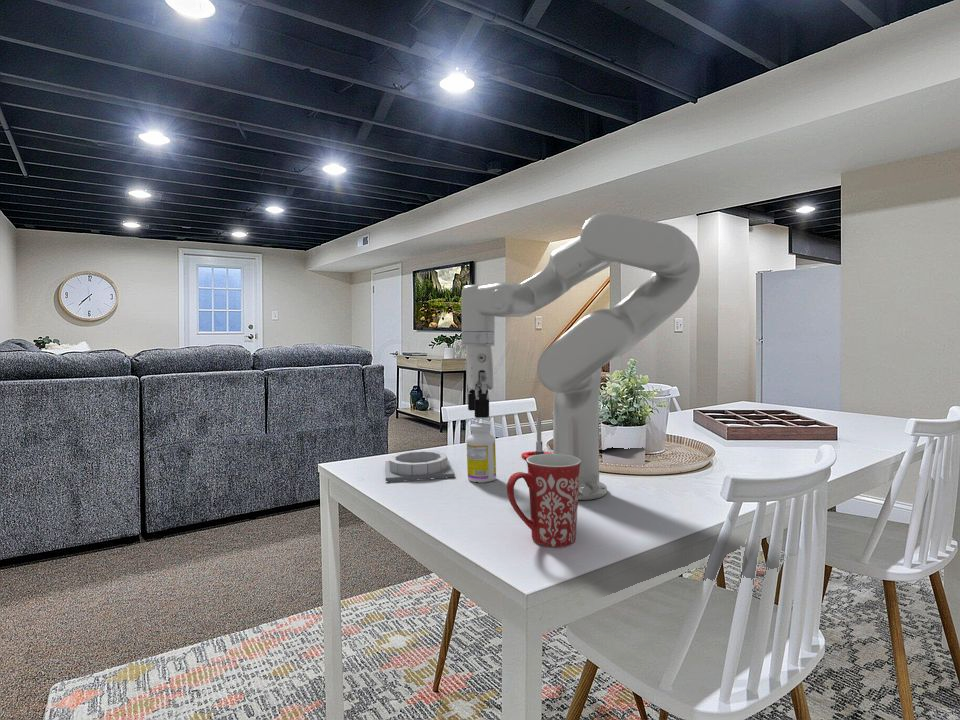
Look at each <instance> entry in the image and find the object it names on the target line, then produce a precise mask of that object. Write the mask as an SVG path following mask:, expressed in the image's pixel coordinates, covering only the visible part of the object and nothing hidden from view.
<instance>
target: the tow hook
mask: <svg viewBox="0 0 960 720" xmlns="http://www.w3.org/2000/svg"><path fill="white" fill-rule="evenodd" d="M536 414H537V417H536V418H537V419H536V441H535V451H532V450H531V451H525V452H522V453H521V456H520V457H521V458H522V459H524V460H526V459H527V458H528V457H530V456H533V455H539V454H553V452H549V451H544V450H543V440H542V419H541V411H537V413H536Z"/></svg>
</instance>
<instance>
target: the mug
mask: <svg viewBox="0 0 960 720" xmlns="http://www.w3.org/2000/svg"><path fill="white" fill-rule="evenodd" d="M525 461H526V466H527V472H523V471H521V472H520V471H518V472H515V473H513V474H511V476H509V478H508V479H507V480H508V481H507V482H506V483H507V484H506V494H507V497H508V501H509V503H510V505H511V507H512V509H513V510H514V512H515V513H516V514H517V516H518V517H519V518H520V520H521V521H523V523H524V524H525V525H526V526H527V527H528V529H530V530H531V539H532V541H533V542H534V541H535V542H534V543H535V544H538V545H540V544H541V546H543V547H544V546H545V547H549V546H551V548H561V547H562V546H563V547H567V545H568V546H571V545H573V544H574V543H575V541H576V537H577V523H578V507H579V505H578V504H579V502H578V501H579V500H578V488H579V470H580V464H581V460H580V459H579V458H577V457H574V456H571V455H565V454H553V453H552V454H539V455H530V457H528V458H527V459H525ZM520 479H523V480H524V481H525V483H526V485H527V488H528V493H529V494H528V495H529V496H528V497H529V511H530V519H529V518H528V517H527V516H526V515H525V513H524V512H523V511H522V510H521V508H520V507H519V505H518V503H517V501H516V498H515V493H514V492H515V491H514V489H515V484H516V482H517V481H518V480H520ZM572 543H573V544H572ZM570 544H571V545H570ZM563 547H562V548H563Z"/></svg>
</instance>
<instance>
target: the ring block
mask: <svg viewBox="0 0 960 720" xmlns="http://www.w3.org/2000/svg"><path fill="white" fill-rule="evenodd" d="M388 459H389V460H386V461H385V473H384V474H385V476H384V477H385V482H386V481H397V482H405V481H404V480H412V481H418V480H417V479H427V480H432V479H431V478H442V479H447V478H446V477H455V472H454V469H453V468H452V465H451V463H450V461H449V459H448V456H447V454H446V453H444V452H440V451H438V450H437V451H436V450H410V451H409V450H408V451H403V452H398V453H397V452H396V453H395V454H392V455H391V456H389V458H388ZM455 478H456V477H455Z"/></svg>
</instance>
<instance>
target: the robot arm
mask: <svg viewBox="0 0 960 720" xmlns="http://www.w3.org/2000/svg"><path fill="white" fill-rule="evenodd" d="M618 263H619V264H622V265H626V266H630V267H634V268H638V269H642V270H646V271H650V272H652V274H651V276H650V277H648V279H647V280H646V281H644V282H643V283H641V284H640V285H638V286H637V287H635V288H634V289H632V291H631V292H630V293H629V294H628V295H626V297H624V298H623V299H621V300H620V301H619V302H618V303H616V304H615V305H614V306H612V307H610V308H600V309H596V310H594V311H591V312H590V313H588V314H587V315H585V316H584V317H582V318H581V319H579V320H578V321H577V322H576V323H575V324H574V325H573V326H571V327H570V328H569V329H568V330H566V331H565V332H564V333H563V334H562V335H561V336H560V337H559V338H558V339H556V340H555V341H553V342H552V343H551V344H550V345H549V346H547V348H546V349H545V350H543V352H542V353H541V355H540V356H539V358H538V361H537V365H536V373H537V374H536V375H537V378H538V381H539V382H540V384H541V385H542V386H543V387H545V388H546V389H547V390H548V391H551V392H553V400H552V401H553V405H552V406H553V407H552V442H553V444H552V445H553V449H552V450H553V452H552V454H565V455H571V456H574V457H577V458H579V459H580V460H581V464H580V470H579V488H578V501H587V500H593V499H594V500H595V499H599V498H602V497H603V496H605V495H606V494H607V492H608V487H607V485H606V484H605V483H604V482H602V481H600V451H599V418H600V412H599V411H600V390H601V383H602V381H601V380H602V367H604V366H605V365H607V364H608V363H609V362H610V361H612V360H613V359H615V358H617V357H622V356H624V355H625V354H628V353H629V352H630V351H631V350H633V348H634V347H636V346H637V345H638V344H639V343H640V342H641V341H642V340H643V339H645V338H646V337H647V336H649V335H650V334H651V333H653V331H655V330H657V329H658V328H659V327H660V326H661V325H662V324H663V323H664V322H666V321H667V320H668V319H669V318H671V317H672V315H674V314H675V313H676V312H677V311H678V310H680V309H681V308H682V307H683V306H684V305H685V304H686V302H688V301H689V299H690V298H691V297H692V295H693V294H694V292H695V290H696V288H697V285H698V282H699V279H700V271H701V268H700V267H701V266H700V257H699V253H698V250H697V247H696V245H695V243H694V241H693V240H692V239H691V238H690V237H689V235H687V234H686V233H684V232H683V231H682V230H680V229H679V228H677V227H675V226H673V225H670V224H667V223H662V222H658V221H652V220H647V219H642V218H637V217H632V216H628V215H622V214H618V213H614V212H608V211H605V212H602V211H601V212H599V213H596V214H594V215H592V216H590V217H589V218H588V219H587V220H585V222H584V224H583V225H582V227H581V229H580V233H579V235H577V236H576V237H574V238H573V239H571V240H570V241H568V242H566V243H564V244H562V245H560V246H559V247H557V248H556V249H554V250H552V252H551V253H550V255H549V260H548V262H547V264H546V266H544V268H542V269H541V271H539V272H537V273H536V274H535V275H533V276H532V277H531V276H530V278H528V279H526V280H524V281H522V282H520V283H513V282H496V283H492V284H467V285H464V286H462V289H461V346H463V347H466V352H465V354H466V355H465V356H466V357H465V358H466V359H465V362H466V363H465V365H466V366H465V367H466V368H465V371H466V374H465V375H466V385H467V386H468V393H467V410H468V411H470V412H472V411H474V418H475V419H480V418H487V419H488V418H489V417H490V394H489V390H490V391H492V390H493V389H494V368H493V367H494V365H493V352H492V351H493V350H492V347H495V345H496V344H495V340H496V339H495V338H496V336H495V330H496V328H495V325H496V324H495V323H496V321H495V318H496V317H497V318H498V317H499V318H522V317H525V316H529V315H531V314H533V313H535V312H537V311H539V310H541V309H542V308H544V307H547V306H548V305H550V304H551V303H553V302H554V301H556V300H557V299H559V298H560V297H562V296H563V295H564V294H566V293H568V291H570V290H571V289H572V288H573V287H575V286H576V285H579V284H580V283H581V282H584V281H585V280H587V279H589V278H592V277H593V276H595V275H596V274H598V273H600V272H602V271H604V270H605V269H607V268H609V267H611V266H613V265H614V264H618Z"/></svg>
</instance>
